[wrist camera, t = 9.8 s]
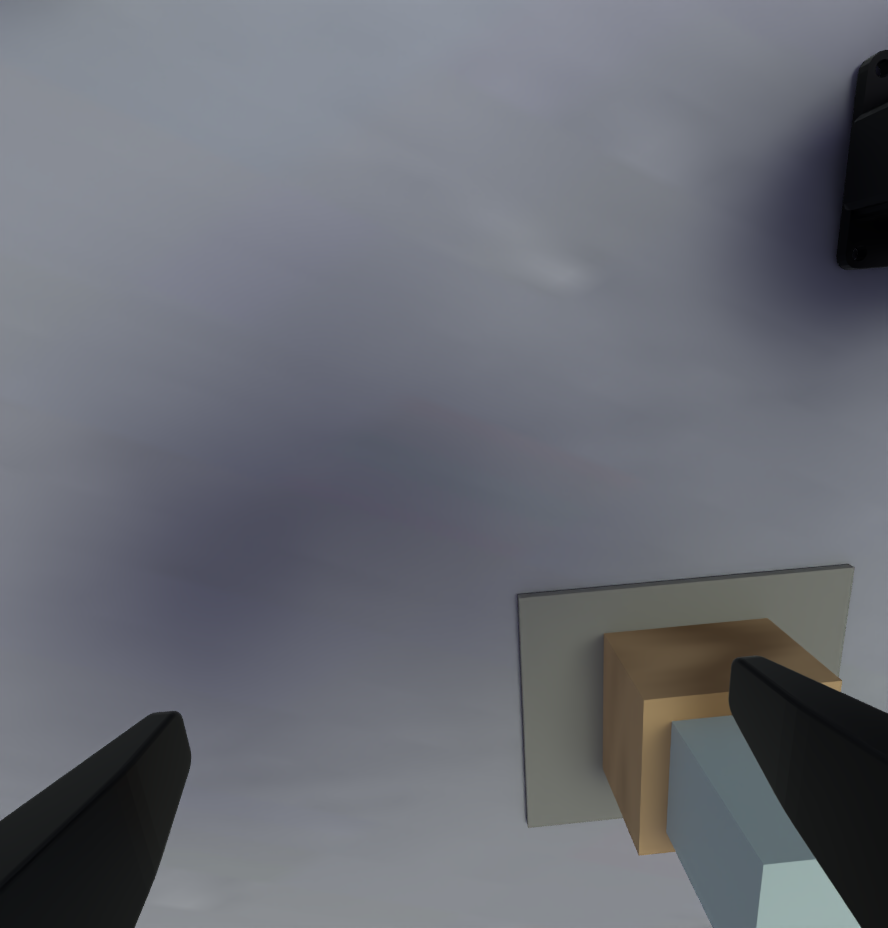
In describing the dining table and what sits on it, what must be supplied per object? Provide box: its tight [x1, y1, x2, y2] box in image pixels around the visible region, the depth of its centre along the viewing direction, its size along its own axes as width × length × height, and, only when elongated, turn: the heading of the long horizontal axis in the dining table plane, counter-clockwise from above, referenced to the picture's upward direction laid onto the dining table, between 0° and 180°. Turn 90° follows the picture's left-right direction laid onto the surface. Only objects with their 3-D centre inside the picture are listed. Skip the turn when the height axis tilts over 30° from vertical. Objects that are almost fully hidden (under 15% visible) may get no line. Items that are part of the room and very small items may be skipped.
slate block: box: [666, 715, 861, 928], centre depth 16 cm, size 5×5×5 cm
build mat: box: [518, 564, 855, 828], centre depth 23 cm, size 14×12×1 cm
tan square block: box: [603, 618, 842, 855], centre depth 21 cm, size 7×7×4 cm
